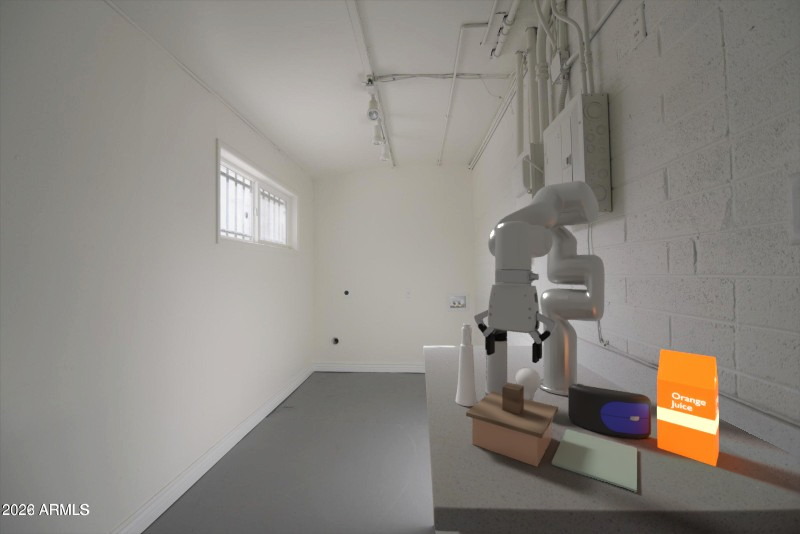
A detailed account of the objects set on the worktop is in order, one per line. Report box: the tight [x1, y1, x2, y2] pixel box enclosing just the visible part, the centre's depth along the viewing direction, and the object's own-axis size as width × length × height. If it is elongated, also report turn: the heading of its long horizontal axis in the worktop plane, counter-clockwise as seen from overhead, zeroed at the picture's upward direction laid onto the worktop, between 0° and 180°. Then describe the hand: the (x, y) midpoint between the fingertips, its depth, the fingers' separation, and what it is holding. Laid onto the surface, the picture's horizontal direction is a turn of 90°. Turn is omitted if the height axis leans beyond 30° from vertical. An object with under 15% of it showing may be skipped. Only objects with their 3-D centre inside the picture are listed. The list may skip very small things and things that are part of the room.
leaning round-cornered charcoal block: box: [567, 383, 652, 440], centre depth 73 cm, size 16×5×9 cm, turn 61°
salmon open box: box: [471, 418, 553, 467], centre depth 69 cm, size 13×13×6 cm
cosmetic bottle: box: [455, 322, 478, 407], centre depth 89 cm, size 6×6×22 cm
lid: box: [465, 381, 559, 438], centre depth 69 cm, size 15×15×6 cm
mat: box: [551, 429, 638, 493], centre depth 63 cm, size 16×13×1 cm
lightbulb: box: [514, 366, 542, 401], centre depth 85 cm, size 6×6×11 cm
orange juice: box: [656, 348, 720, 467], centre depth 66 cm, size 8×9×20 cm
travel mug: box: [484, 330, 508, 397], centre depth 94 cm, size 6×7×20 cm
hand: (512, 357), depth 69 cm, fingers open, 9 cm apart
